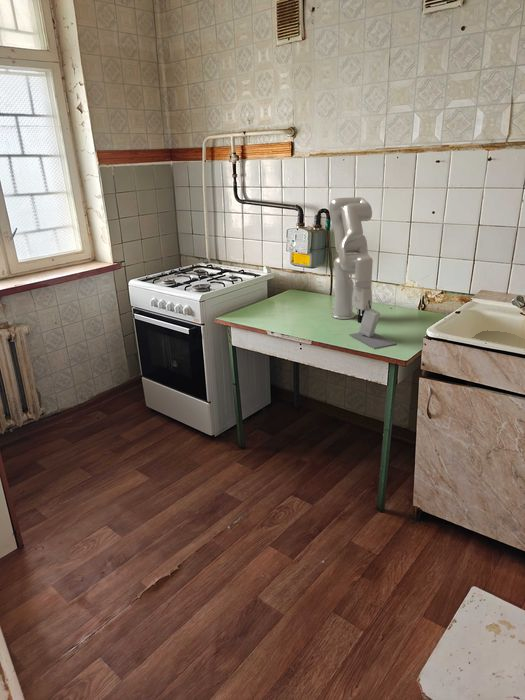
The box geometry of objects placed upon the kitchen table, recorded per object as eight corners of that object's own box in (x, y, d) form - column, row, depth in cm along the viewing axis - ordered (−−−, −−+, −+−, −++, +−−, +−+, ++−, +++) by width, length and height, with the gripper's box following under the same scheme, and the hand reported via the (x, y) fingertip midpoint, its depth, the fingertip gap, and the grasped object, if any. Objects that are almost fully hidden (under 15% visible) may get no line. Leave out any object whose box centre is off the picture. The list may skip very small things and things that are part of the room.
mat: (348, 335, 235) (348, 334, 235) (370, 331, 239) (370, 330, 239) (374, 349, 218) (374, 347, 217) (396, 344, 222) (396, 343, 222)
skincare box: (373, 335, 232) (381, 312, 226) (368, 337, 229) (376, 315, 223) (363, 329, 236) (370, 306, 229) (357, 331, 233) (364, 309, 226)
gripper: (347, 281, 232) (345, 319, 239) (365, 288, 220) (363, 327, 226) (360, 279, 235) (359, 317, 242) (379, 286, 222) (377, 325, 229)
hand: (361, 322), depth 234 cm, fingers closed
